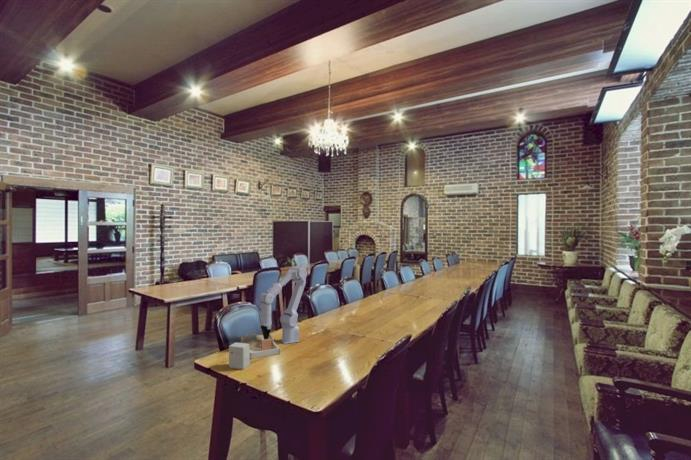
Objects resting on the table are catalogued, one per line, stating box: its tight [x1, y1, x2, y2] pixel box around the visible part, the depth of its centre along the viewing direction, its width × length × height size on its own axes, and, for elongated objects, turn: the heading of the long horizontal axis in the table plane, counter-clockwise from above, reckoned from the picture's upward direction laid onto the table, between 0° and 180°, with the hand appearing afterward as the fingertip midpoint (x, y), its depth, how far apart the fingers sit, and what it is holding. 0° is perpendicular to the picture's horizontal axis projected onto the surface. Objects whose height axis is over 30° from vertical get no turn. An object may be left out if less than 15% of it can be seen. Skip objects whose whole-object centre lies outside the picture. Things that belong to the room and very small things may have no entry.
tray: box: [250, 341, 281, 360], centre depth 177 cm, size 16×12×3 cm
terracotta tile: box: [261, 339, 271, 351], centre depth 181 cm, size 5×5×2 cm
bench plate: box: [240, 333, 275, 350], centre depth 188 cm, size 16×12×4 cm
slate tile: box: [245, 332, 258, 341], centre depth 187 cm, size 5×5×2 cm
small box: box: [228, 342, 251, 370], centre depth 160 cm, size 8×6×10 cm
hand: (266, 338), depth 185 cm, fingers closed
